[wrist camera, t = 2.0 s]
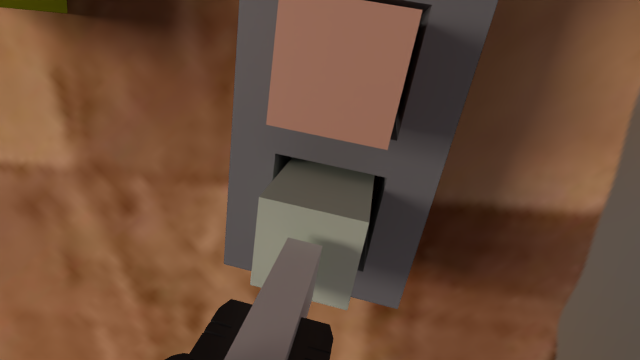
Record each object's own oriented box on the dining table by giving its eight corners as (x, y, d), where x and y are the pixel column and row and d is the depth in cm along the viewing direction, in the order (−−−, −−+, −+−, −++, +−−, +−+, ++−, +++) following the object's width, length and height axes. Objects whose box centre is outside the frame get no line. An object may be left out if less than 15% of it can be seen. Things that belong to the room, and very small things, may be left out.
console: (302, -236, 17) (261, -371, 11) (535, -216, 16) (614, -355, 10) (257, 219, 27) (223, 263, 22) (395, 252, 26) (397, 308, 20)
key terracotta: (320, 7, 18) (279, -14, 12) (409, 22, 18) (422, 9, 11) (307, 97, 20) (266, 124, 13) (387, 112, 20) (387, 150, 13)
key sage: (300, 148, 22) (258, 197, 15) (375, 164, 21) (369, 222, 14) (290, 214, 23) (250, 284, 17) (359, 230, 23) (347, 310, 16)
